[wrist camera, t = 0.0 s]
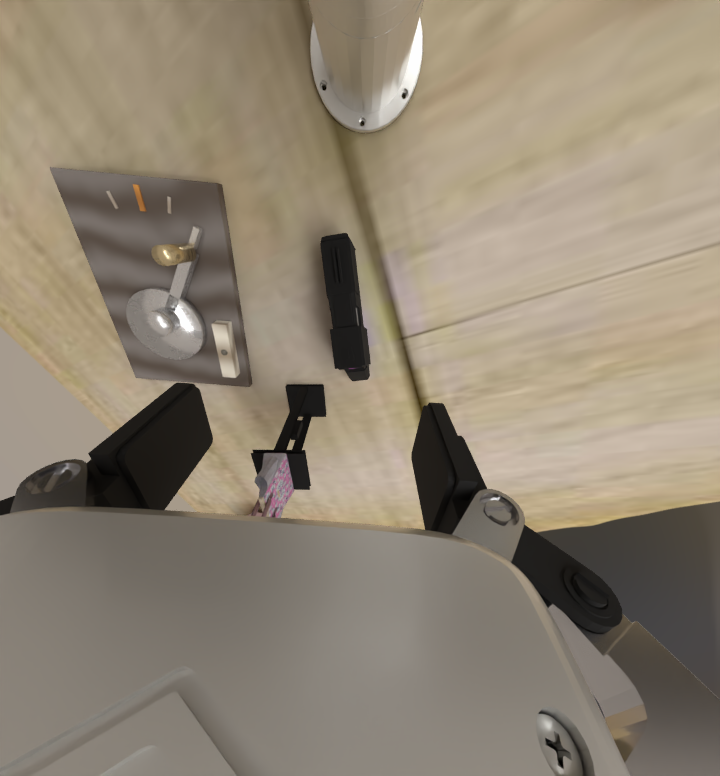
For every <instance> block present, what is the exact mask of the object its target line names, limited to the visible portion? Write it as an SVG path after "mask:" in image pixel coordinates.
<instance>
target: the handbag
mask: <svg viewBox="0 0 720 776" xmlns="http://www.w3.org/2000/svg"><path fill="white" fill-rule="evenodd" d="M286 391H287V396H288V402H289V407H290V413H289V415H288V418H287V420H286V422H285V425H284V427H283V429H282V432H281V434H280V437H279V439H278V441H277V444H276V446H275V448H274V450H253V453H251V456H252V459H253V462H254V466H255V469H256V472H257V477H256V478H255V483H256V484H257V486H258V487H259V489H260V492H259V499H258V501H257V503H256V505H255V507H254V509H253V512H252V514H251V516H256V514H257V511H258V509H259V507H260V506H261V509H262V512H263V513H262V516H261V517H275V518H281V515H282V511H283V508H284V506H285V504H286V503H287V501H288V500H289V498H290V497H291V495H292V493H293V492H294V489H302V490H310V487H309V486H311V485H310V478H309V472H308V466H307V460H306V453H305V450H302V448H303V444H304V441H305V437H306V434H307V431H308V427H309V424H310V420H311V417H326V407H325V396H324V386H323V385H287V386H286ZM298 417H303V419H302V420H297V419H298ZM290 438H291V440H295V443H294V446H293V449H292V450H286V449H287V446H288V444H289V441H290Z"/></svg>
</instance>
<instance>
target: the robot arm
mask: <svg viewBox="0 0 720 776" xmlns="http://www.w3.org/2000/svg"><path fill="white" fill-rule="evenodd" d="M308 2H309V6H310V10H311V14H312V18H313V23H312V28H311V38H310V56H311V66H312V71H313V76H314V80H315V84H316V87H317V90H318V92H319V94H320V97H321V99H322V101H323V103H324V105H325V106H326V108H327V110H328V111H329V113H330V114H331V115H332V116H333V117H334V118H335V119H336V121H337V122H339V123H340V124H341V125H343V126H344V127H345V128H348V129H350V130H352V131H354V132H360V133H372V132H376V131H379V130H382V129H384V128H385V127H387V126H388V125H390V124H391V123H393V122H394V121H395V120H396V119H397V118H398V117H399V116H400V114H401V113H402V112H403V110H404V109H405V108H406V106H407V105H408V103H409V101H410V99H411V97H412V95H413V92H414V89H415V87H416V84H417V81H418V77H419V73H420V70H421V63H422V56H423V32H422V23H421V18H420V14H421V10H422V6H423V2H424V0H308ZM323 86H326V90H325V91H323V90H322V88H323ZM403 94H404V95H405V96H406V98H405V99H402V95H403ZM361 122H364V126H361V125H360V123H361ZM212 441H213V437H212V433H211V429H210V426H209V422H208V418H207V415H206V411H205V408H204V404H203V400H202V397H201V393H200V390H199V389H198V388H196V386H195V385H194V384H189V383H176V384H174V385H173V386H172V387H170V388H169V389H168V390H167V391H165V392H164V393H163V394H162V395H160V396H159V397H158V398H157V399H155V400H154V401H153V402H152V403H151V404H149V405H148V406H147V407H146V408H144V409H143V410H142V411H141V412H139V413H138V414H137V415H136V416H134V417H133V418H132V419H131V420H129V421H128V422H127V423H126V424H124V425H123V426H122V427H121V428H119V429H118V430H117V431H116V432H114V433H113V434H112V435H111V436H110V437H108V438H107V439H106V440H104V441H103V442H102V443H101V444H99V445H98V446H97V447H96V448H94V449H93V450H92V451H91V452H90V453H89V455H90V457H91V460H90V461H89V462H88V463H86V462H84V461H83V460H77V459H72V460H64V461H60V462H56V463H53V464H51V465H48V466H46V467H43V468H41V469H40V470H37V471H36V472H34V473H33V474H31V475H30V476H28V477H27V478H26V479H25V480H24V481H23V482H21V484H20V485H19V487H18V488H17V491H16V494H15V496H13V497H10V498H7V499H4V500H2V501H0V776H720V699H719V698H718V697H717V696H716V695H714V694H713V693H712V692H711V691H710V690H709V689H708V688H707V687H706V686H705V685H704V684H703V683H702V682H701V681H700V680H699V679H698V678H696V677H695V676H694V675H693V674H692V673H691V672H690V671H689V670H688V669H687V668H686V667H685V666H684V665H683V664H682V663H680V661H678V660H677V659H676V658H675V657H674V656H673V655H672V654H671V653H670V652H669V651H668V650H667V649H666V648H665V647H664V646H663V645H662V644H661V643H659V642H658V641H657V640H656V639H655V638H654V637H653V636H652V635H651V634H650V633H649V632H648V631H647V630H646V629H644V627H642V626H641V625H640V624H639V623H638V622H637V621H635V622H634V623H631V622H630V621H629V620H628V619H627V618H626V617H625V616H624V615H623V614H622V608H621V606H620V603H619V601H618V599H617V597H616V596H615V594H614V593H613V591H612V590H611V588H610V587H609V586H608V585H607V584H606V583H605V582H604V581H603V580H602V579H601V578H600V577H599V576H597V575H596V574H595V573H593V572H592V571H591V570H589V569H588V568H587V567H585V566H584V565H582V564H581V563H579V562H578V561H576V560H575V559H574V558H572V557H571V556H569V555H568V554H566V553H565V552H563V551H562V550H560V549H559V548H558V547H556V546H555V545H553V544H552V543H550V542H549V541H547V540H546V539H544V538H543V537H541V536H540V535H539V534H537V533H536V532H534V531H533V530H531V529H530V528H528V527H527V526H526V525H524V524H525V517H524V514H523V511H522V510H521V508H520V507H519V505H518V504H517V503H516V502H515V501H514V500H513V499H512V498H510V497H509V496H507V495H506V494H504V493H502V492H500V491H497V490H493V489H487V487H486V485H485V483H484V481H483V479H482V477H481V474H480V472H479V470H478V468H477V466H476V464H475V462H474V459H473V457H472V455H471V453H470V451H469V449H468V446H467V444H466V442H465V440H464V438H463V437H462V436H458V435H457V433H456V431H455V429H454V426H453V424H452V422H451V420H450V417H449V415H448V413H447V410H446V408H445V406H444V404H442V403H429V404H428V406H424V407H423V410H422V414H421V418H420V422H419V426H418V430H417V434H416V438H415V442H414V446H413V450H412V464H413V469H414V474H415V479H416V484H417V489H418V495H419V500H420V505H421V510H422V515H423V520H424V525H425V530H421V529H414V528H404V527H393V526H382V525H371V524H357V523H344V522H330V521H317V520H303V519H289V518H275V517H260V516H246V515H231V514H216V513H200V512H183V511H167V510H165V508H166V507H167V505H168V504H169V503H170V501H171V500H172V499H173V497H174V496H175V494H176V493H177V492H178V490H179V489H180V488H181V486H182V485H183V483H184V482H185V481H186V479H187V478H188V476H189V475H190V474H191V472H192V471H193V470H194V468H195V467H196V465H197V464H198V463H199V461H200V460H201V458H202V457H203V456H204V454H205V453H206V452H207V450H208V449H209V447H210V446H211V444H212ZM590 690H591V691H590ZM591 692H592V693H593V695H594V696H595V698H596V699H597V701H598V702H599V704H600V706H601V709H602V711H603V714H604V716H605V719H606V722H605V720H604V718H603V715H602V713H601V711H600V709H599V707H598V705H597V703H596V701H595V699H594V697H593V695H592V693H591ZM538 713H539V714H538Z"/></svg>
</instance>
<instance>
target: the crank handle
mask: <svg viewBox="0 0 720 776" xmlns="http://www.w3.org/2000/svg"><path fill="white" fill-rule="evenodd" d="M202 231H203V230H202V229H201V228H199V227H198V226H193V229H192V233H191V236H190V239H189V243H188V244H187V243H179V244H166V245H155V246H154V247H153V248H152V251H151V253H152V257H153V258H154V260H155V261H156V262H157V263H158V264H159V265H162V266H170V265H176V264H178V265H177V269H176V272H175V275H174V279H173V282H172V286H171V289H170V290H169V289H165V288H149V289H146V290H142V291H139V292H137V293H135V294H134V295H133V296H132V297H131V298H130V299H129V301H128V304H127V308H126V315H127V320H128V323H129V326H130V328H131V330H132V332H133V333H134V335H135V336H136V337H137V339H138V340H139V341H140V342H141V343H142V344H143V345H144V346H145V347H147V348H148V349H149V350H151V351H152V352H154V353H156V354H158V355H160V356H162V357H165V358H169V359H175V360H181V359H187V358H189V357H192V356H193V355H195V354H196V353H197V352H199V351H200V350H201V349H202V348H203V346H204V344H205V342H206V337H207V331H206V326H205V322H204V320H203V318H202V316H201V314H200V313H199V311H198V310H197V309H196V307H195V306H194V305H193V304H192V303H191V302H190V301H189V300H187V299H186V298H185V296H186V293H187V290H188V287H189V284H190V281H191V278H192V275H193V272H194V269H195V266H196V263H197V260H198V257H199V255H198V254H196V251H195V249H197V247H198V244H199V241H200V238H201V235H202Z"/></svg>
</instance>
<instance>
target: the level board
mask: <svg viewBox="0 0 720 776" xmlns="http://www.w3.org/2000/svg"><path fill="white" fill-rule="evenodd" d="M50 170H51V172H52V175H53V177H54V180H55V182H56V184H57V187H58V189H59V192H60V194H61V197H62V199H63V201H64V204H65V206H66V209H67V211H68V214H69V216H70V218H71V221H72V223H73V226H74V228H75V231H76V233H77V236H78V238H79V240H80V243H81V245H82V248H83V250H84V253H85V255H86V257H87V260H88V262H89V265H90V267H91V270H92V272H93V274H94V277H95V279H96V282H97V284H98V287H99V289H100V291H101V294H102V296H103V299H104V301H105V304H106V306H107V308H108V311H109V313H110V316H111V318H112V321H113V323H114V325H115V328H116V330H117V333H118V335H119V338H120V340H121V342H122V345H123V347H124V350H125V352H126V355H127V357H128V359H129V362H130V364H131V367H132V369H133V372H134V374H135V377H136V378H143V379H156V380H169V381H181V382H194V383H207V384H219V385H232V386H245V387H250V385H251V384H252V378H251V372H250V365H249V359H248V352H247V346H246V339H245V333H244V326H243V319H242V313H241V306H240V300H239V293H238V287H237V280H236V274H235V267H234V260H233V254H232V247H231V241H230V234H229V228H228V221H227V215H226V208H225V201H224V195H223V188H222V185H220V184H217V183H208V182H197V181H187V180H177V179H166V178H156V177H145V176H135V175H125V174H114V173H104V172H93V171H83V170H72V169H62V168H52V167H50ZM193 226H198V227H199V228H201V229H202V230H203V231H202V235H201V238H200V241H199V244H198V247H197V249H195V251H196V254H198V255H199V257H198V260H197V263H196V266H195V269H194V272H193V275H192V278H191V281H190V284H189V287H188V290H187V293H186V296H185V298H186V299H187V300H189V301H190V302H191V303H192V304H193V305H194V306H195V307H196V309H197V310H198V311H199V313H200V314H201V316H202V318H203V320H204V322H205V326H206V331H207V337H206V342H205V344H204V346H203V348H202V349H201V350H200V351H199V352H197V353H196V354H195V355H193V356H192V357H189V358H187V359H181V360H175V359H169V358H165V357H162V356H160V355H158V354H156V353H154V352H152V351H151V350H149V349H148V348H147V347H145V346H144V345H143V344H142V343H141V342H140V341H139V340H138V339H137V337H136V336H135V335H134V333H133V332H132V330H131V328H130V326H129V323H128V320H127V315H126V308H127V304H128V301H129V299H130V298H131V297H132V296H133V295H134V294H135V293H137V292H139V291H142V290H146V289H149V288H165V289H169V290H170V289H171V286H172V282H173V279H174V275H175V272H176V269H177V265H178V264H176V265H170V266H162V265H159V264H158V263H157V262H156V261H155V260H154V258H153V257H152V253H151V251H152V248H153V247H154V246H155V245H166V244H179V243H187V244H188V243H189V239H190V236H191V233H192V229H193Z"/></svg>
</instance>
